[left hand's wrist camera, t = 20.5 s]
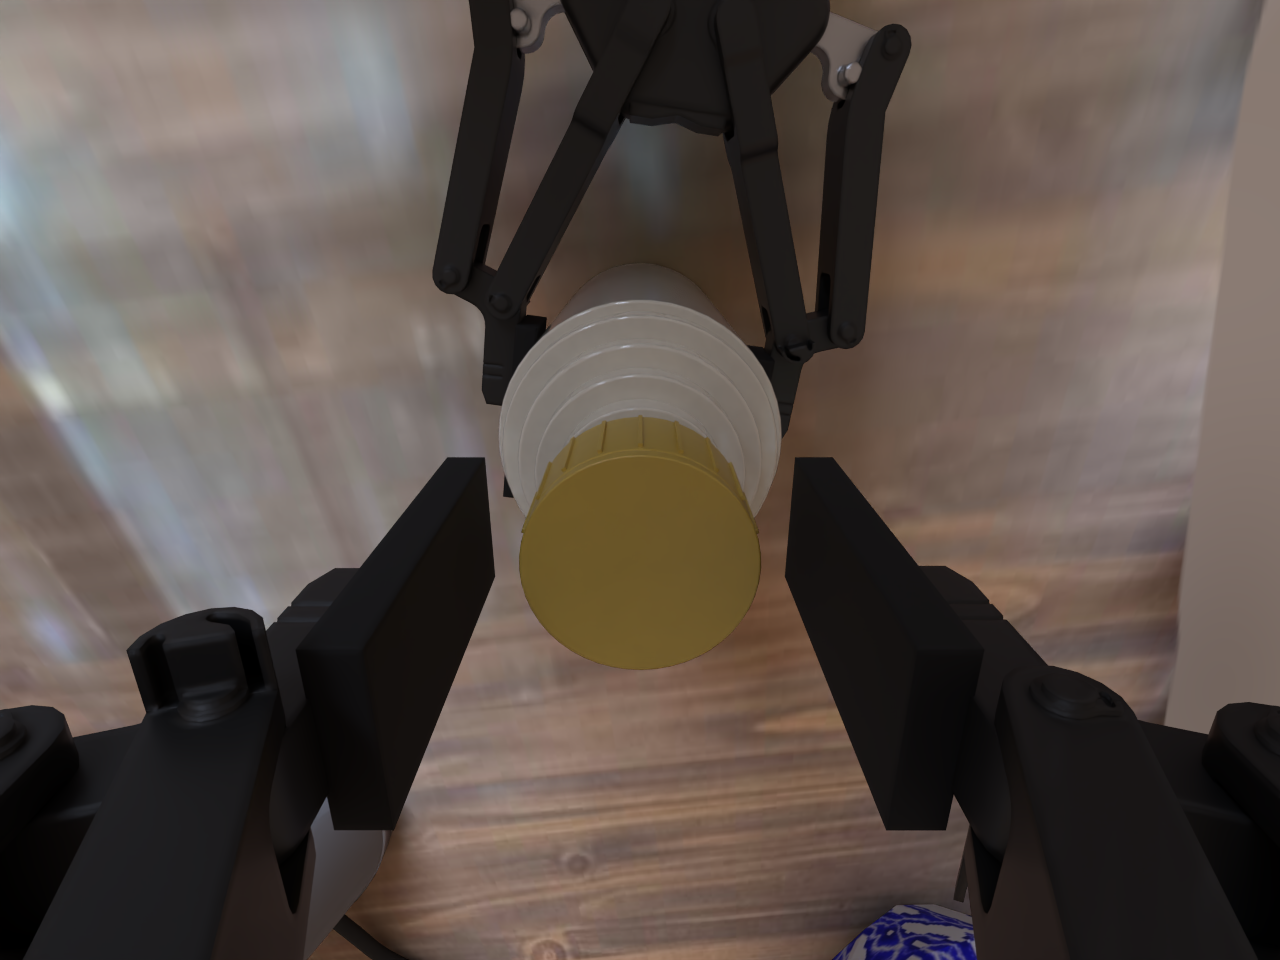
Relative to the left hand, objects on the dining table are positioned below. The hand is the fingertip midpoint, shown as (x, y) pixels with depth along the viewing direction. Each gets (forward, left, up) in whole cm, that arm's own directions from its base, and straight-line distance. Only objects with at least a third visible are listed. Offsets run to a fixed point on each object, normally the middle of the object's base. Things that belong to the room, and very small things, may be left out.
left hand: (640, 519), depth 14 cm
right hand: (-5, +1, -13) cm, 14 cm away
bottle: (0, 0, -19) cm, 19 cm away
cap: (0, 0, +2) cm, 2 cm away
